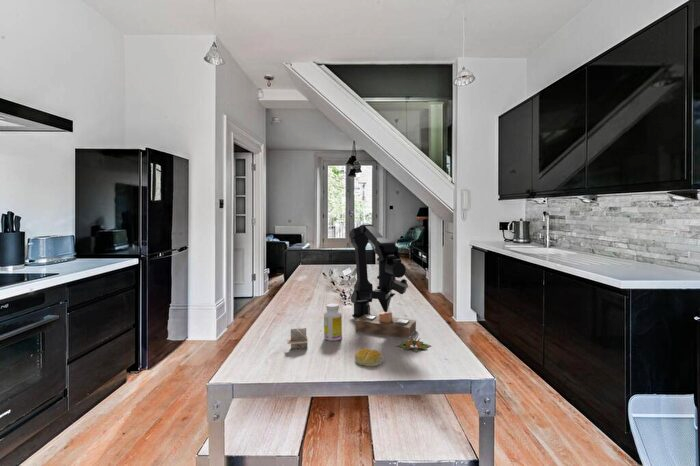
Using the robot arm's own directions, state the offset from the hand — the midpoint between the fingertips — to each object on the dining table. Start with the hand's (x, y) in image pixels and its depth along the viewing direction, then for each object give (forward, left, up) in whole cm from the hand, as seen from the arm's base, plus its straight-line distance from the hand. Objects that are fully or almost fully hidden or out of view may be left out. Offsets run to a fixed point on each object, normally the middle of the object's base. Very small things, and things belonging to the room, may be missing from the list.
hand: (385, 311), depth 155 cm
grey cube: (-7, 0, -7) cm, 10 cm away
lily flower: (+15, -12, -8) cm, 21 cm away
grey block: (+7, 0, -7) cm, 10 cm away
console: (0, 0, -8) cm, 8 cm away
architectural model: (-21, -31, -8) cm, 39 cm away
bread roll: (+6, -31, -8) cm, 33 cm away
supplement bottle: (-15, -17, -8) cm, 24 cm away
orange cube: (0, 0, -4) cm, 4 cm away
